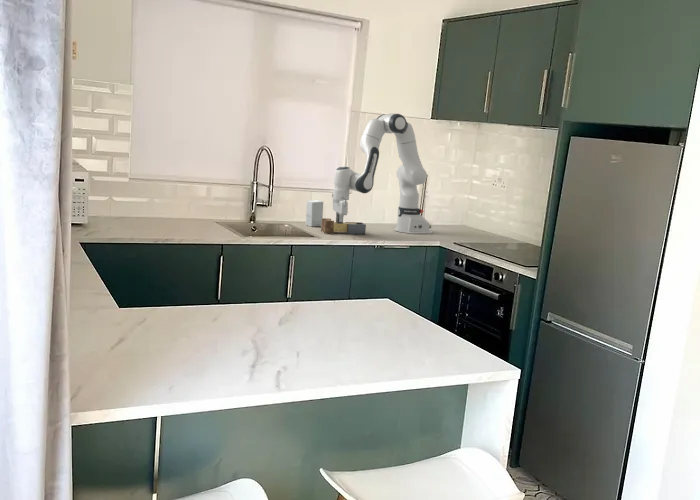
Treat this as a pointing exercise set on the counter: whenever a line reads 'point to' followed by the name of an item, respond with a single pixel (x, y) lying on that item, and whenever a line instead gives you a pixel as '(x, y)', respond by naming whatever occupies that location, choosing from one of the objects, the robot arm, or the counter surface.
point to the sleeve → (356, 228)
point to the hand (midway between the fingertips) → (339, 220)
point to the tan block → (340, 225)
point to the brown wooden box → (327, 225)
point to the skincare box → (314, 213)
